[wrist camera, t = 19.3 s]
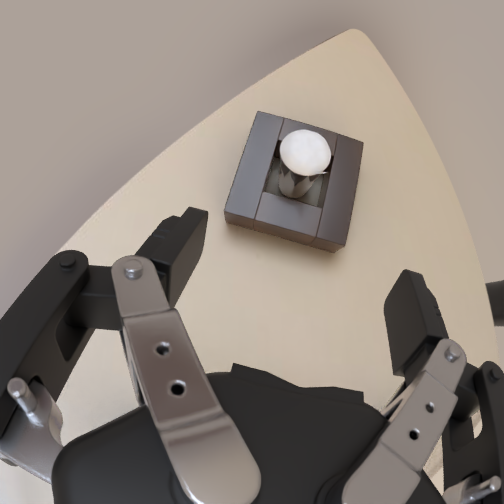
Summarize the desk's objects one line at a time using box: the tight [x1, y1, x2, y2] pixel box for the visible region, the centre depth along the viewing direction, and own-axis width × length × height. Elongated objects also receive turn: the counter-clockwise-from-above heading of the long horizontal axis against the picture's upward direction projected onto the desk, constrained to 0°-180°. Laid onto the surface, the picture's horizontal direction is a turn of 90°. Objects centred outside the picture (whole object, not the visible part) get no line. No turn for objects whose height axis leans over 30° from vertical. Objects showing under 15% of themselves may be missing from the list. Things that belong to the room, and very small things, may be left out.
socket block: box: [224, 111, 364, 253], centre depth 33 cm, size 12×12×4 cm
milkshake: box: [278, 130, 331, 198], centre depth 30 cm, size 5×5×10 cm
